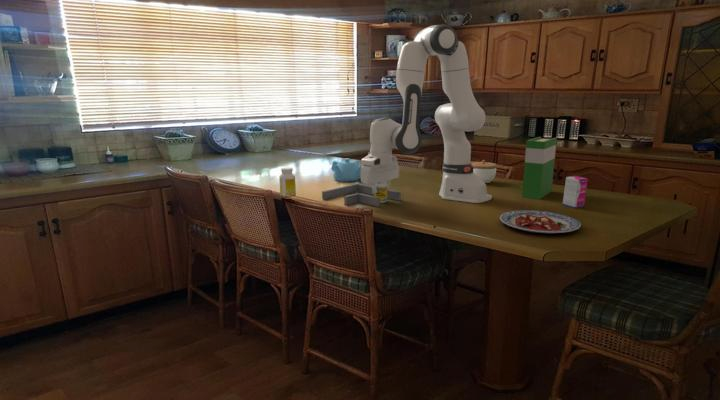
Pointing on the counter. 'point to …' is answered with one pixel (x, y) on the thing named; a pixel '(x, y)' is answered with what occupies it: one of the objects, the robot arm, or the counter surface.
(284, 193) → the supplement bottle
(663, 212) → the counter surface
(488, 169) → the lidded bowl
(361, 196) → the guide walls
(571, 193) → the supplement box
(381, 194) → the supplement bottle
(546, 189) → the green white carton
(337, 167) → the teapot
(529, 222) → the ceramic plate
